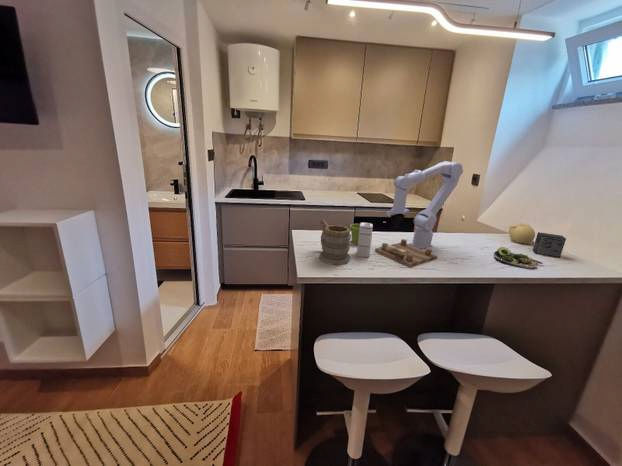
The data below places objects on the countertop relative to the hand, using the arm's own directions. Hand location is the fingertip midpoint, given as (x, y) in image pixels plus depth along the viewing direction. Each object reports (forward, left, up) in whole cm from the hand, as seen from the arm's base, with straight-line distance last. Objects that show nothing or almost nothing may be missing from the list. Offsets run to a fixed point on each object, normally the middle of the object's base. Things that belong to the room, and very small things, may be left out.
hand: (395, 228), depth 144 cm
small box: (-66, +45, -10) cm, 80 cm away
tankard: (+37, -5, -10) cm, 38 cm away
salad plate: (-39, +40, -10) cm, 57 cm away
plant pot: (+13, -12, -10) cm, 20 cm away
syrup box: (+22, +1, -10) cm, 24 cm away
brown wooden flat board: (+4, +11, -9) cm, 15 cm away
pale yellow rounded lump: (-76, +29, -10) cm, 82 cm away
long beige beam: (+11, +9, -8) cm, 16 cm away
